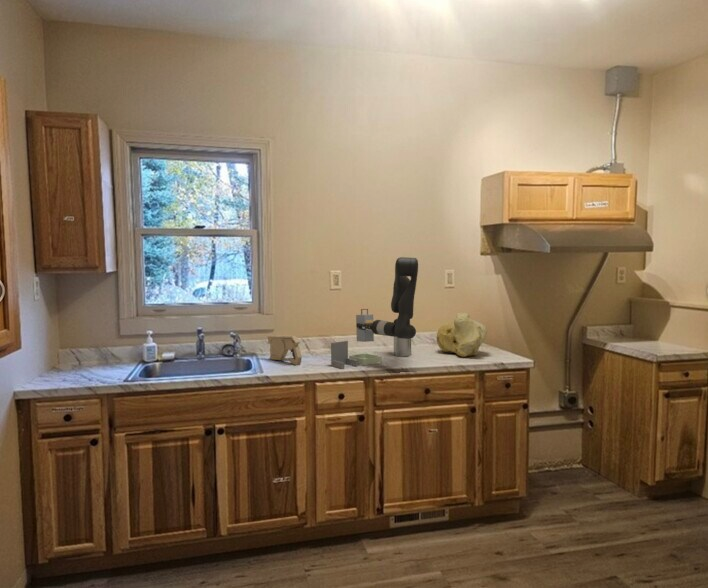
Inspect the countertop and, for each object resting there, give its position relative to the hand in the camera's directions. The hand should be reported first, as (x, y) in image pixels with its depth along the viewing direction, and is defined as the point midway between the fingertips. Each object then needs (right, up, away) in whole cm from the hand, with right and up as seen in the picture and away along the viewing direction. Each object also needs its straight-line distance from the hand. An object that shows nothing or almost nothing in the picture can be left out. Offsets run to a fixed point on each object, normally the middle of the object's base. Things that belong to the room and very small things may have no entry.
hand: (361, 324), depth 269 cm
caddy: (+2, -9, -2) cm, 9 cm away
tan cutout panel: (-41, -20, +1) cm, 46 cm away
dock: (-9, -21, -11) cm, 25 cm away
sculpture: (+57, -18, +18) cm, 63 cm away
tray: (+2, -20, 0) cm, 20 cm away
